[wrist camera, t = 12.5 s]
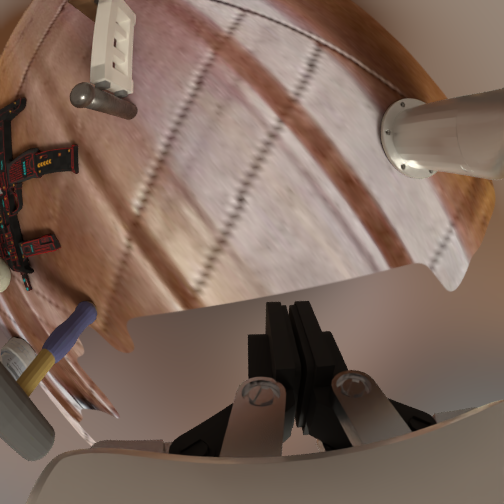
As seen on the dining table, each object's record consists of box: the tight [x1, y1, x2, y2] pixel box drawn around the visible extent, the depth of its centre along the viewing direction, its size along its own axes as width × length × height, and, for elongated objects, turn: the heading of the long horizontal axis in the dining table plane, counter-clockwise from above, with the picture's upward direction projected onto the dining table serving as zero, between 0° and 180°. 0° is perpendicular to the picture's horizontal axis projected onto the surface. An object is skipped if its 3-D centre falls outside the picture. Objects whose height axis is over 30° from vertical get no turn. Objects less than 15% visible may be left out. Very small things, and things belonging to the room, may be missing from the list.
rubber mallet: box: [0, 301, 97, 461], centre depth 29 cm, size 12×8×30 cm, turn 19°
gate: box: [90, 0, 136, 98], centre depth 26 cm, size 2×15×9 cm, turn 4°
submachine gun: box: [0, 98, 79, 291], centre depth 35 cm, size 34×4×25 cm
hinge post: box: [70, 82, 137, 120], centre depth 27 cm, size 3×3×15 cm
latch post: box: [68, 0, 118, 24], centre depth 23 cm, size 3×2×13 cm
